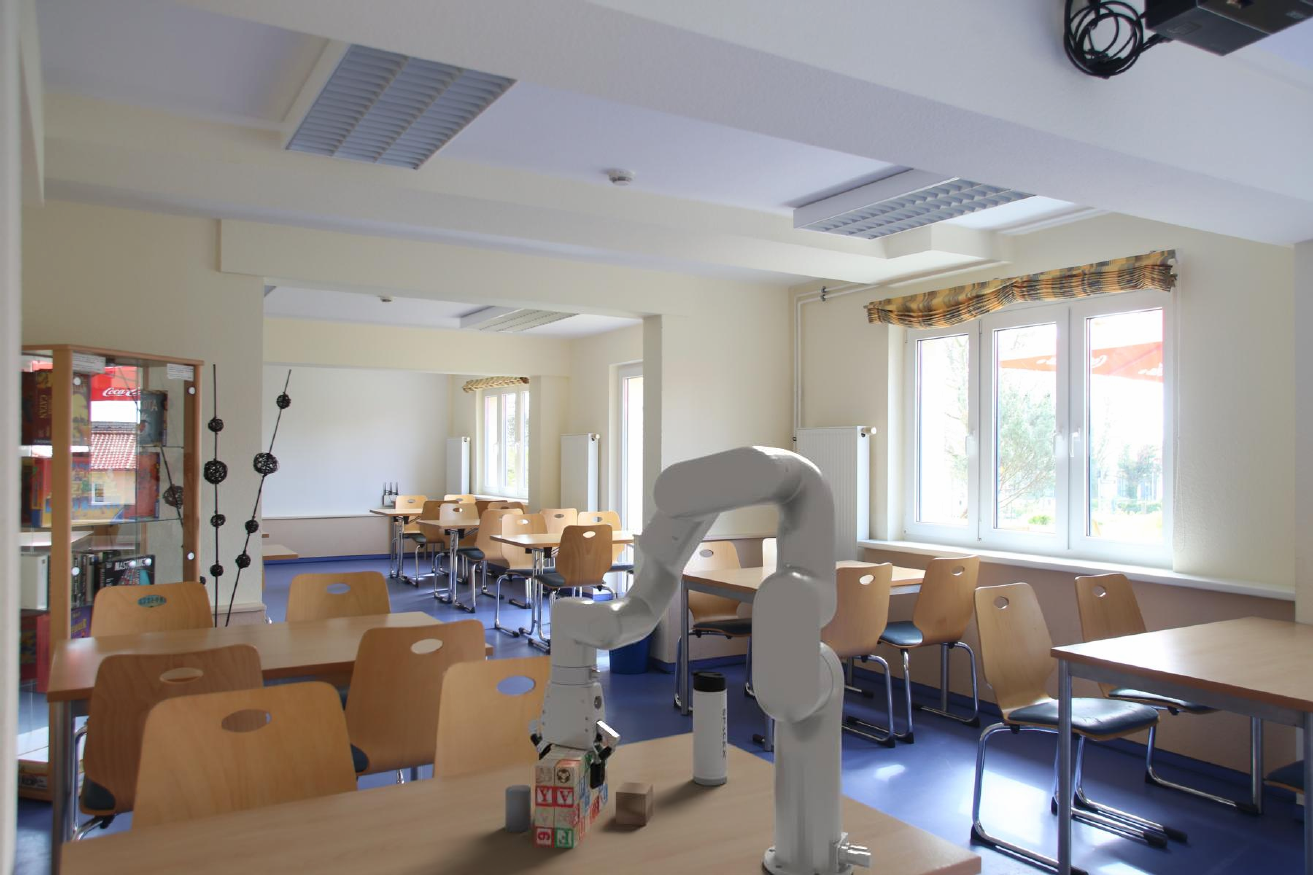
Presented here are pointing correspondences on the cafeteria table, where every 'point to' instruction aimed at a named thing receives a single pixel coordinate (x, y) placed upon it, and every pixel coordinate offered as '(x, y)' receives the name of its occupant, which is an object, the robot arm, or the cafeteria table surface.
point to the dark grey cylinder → (518, 808)
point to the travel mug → (709, 728)
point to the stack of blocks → (565, 797)
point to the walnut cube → (634, 803)
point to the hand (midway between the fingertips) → (571, 781)
